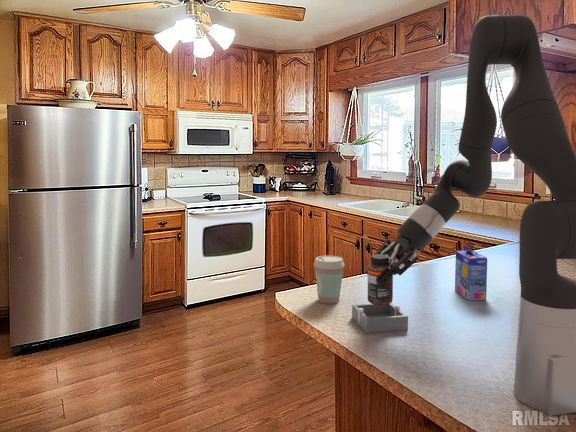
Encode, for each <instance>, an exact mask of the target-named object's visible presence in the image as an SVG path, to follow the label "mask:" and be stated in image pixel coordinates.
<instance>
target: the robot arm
mask: <svg viewBox="0 0 576 432" xmlns="http://www.w3.org/2000/svg"><path fill="white" fill-rule="evenodd" d="M468 51H469V52H468V64H467V65H468V66H467V77H466V92H465V93H466V95H465V110H464V117H463V122H462V127H461V132H460V136H459V142H458V148H457V149H458V153H460V155H461V156H462V157H464V158H465V159H466V160H465V159H463V158H462V159H456V160H454V161H452V162H451V163H450V164H449V165H448V166H447V167H446V168H445V170H444V172H443V174H442V176H441V178H440V180H439V182H438V183H437V185H436V187H435V189H434V191H433V192H432V193H431V195H430V196H428V198H427V199H426V200H425V201H424V202H423V203H422V204H421V205H420V206H418V208H417V209H416V210H414V211H413V212H412V213H411V215H410V216H409V217H408V218H407V219H405V220H404V222H403V223H402V224H401V225H400V226H399V227H398V228H397V230H396V235H397V238H396V239H394V240H393V241H391V240H390V238H387V239H386V240H385V241H384V242H383V244H381V246H380V247H379V248H378V250H377V251H376V252H375V253H374V254H373V255H377V254H382V255H387V256H389V265H388V266H387V269H386V268H385V269H384V271H383V272H382V273H381V274H380V275H379V276H378V277H377V278H376V281H377V282H378V283H379V284H380V285H381V286H383V285H384V284H385V283H386V282H387V281H388V280H389V279H390V278H391V277H392V276H393V277H394V276H396V275H398V276H402V275H403V274H404V273H405V272H406V271H407V270H408V269H410V267H412V265H414V264H415V263H416V262H417V261H418V260H419V258H420V257H419V256H418V255H417V253H415V252H418V253H421V252H422V251H423V250H424V249H425V248H426V247H427V246H428V245H429V244H430V243H431V242H432V241H433V239H435V237H436V236H437V235H438V234H439V233H440V232H441V230H442V229H443V227H444V226H445V225H446V224H447V223H448V222H449V221H450V220H451V219H452V217H453V216H454V215H456V213H457V212H458V210H459V209H460V206H461V204H460V201H459V200H458V198H457V197H456V196H455V195H454V194H453V192H454V190H457V191H458V192H461V193H463V194H465V195H467V196H469V197H472V198H480V197H482V196H483V195H485V193H487V192H488V190H489V188H490V187H491V184H492V179H493V170H492V169H493V167H492V165H493V164H492V147H493V143H494V138H495V134H496V131H497V126H498V125H497V124H498V119H497V113H496V110H495V106H494V104H493V102H492V99H491V97H490V94H489V91H488V88H487V81H486V80H487V79H486V78H487V77H486V75H487V70H488V66H490V65H491V66H492V65H495V66H496V65H510V66H511V67H513V70H514V73H515V78H516V79H515V82H514V84H513V86H512V87H511V89H510V91H509V93H508V94H507V96H506V98H505V100H504V103H503V105H502V108H501V113H500V119H501V125H502V128H503V132H504V135H505V140H506V143H507V145H508V147H509V149H510V151H511V152H512V153H513V154H514V155H515V157H516V158H517V159H518V160H519V161H520V162H521V163H522V164H524V165H525V166H526V167H527V168H528V169H529V170H531V172H533V173H534V174H536V176H537V177H538V178H539V179H540V180H541V181H543V183H544V184H545V186H546V187H547V188H548V189H549V192H550V193H551V196H552V197H553V200H536V201H533V202H530V203H529V204H527V205H526V207H525V208H524V210H523V212H522V214H521V218H520V223H519V224H520V225H519V258H518V259H519V260H518V261H519V263H518V265H519V267H518V273H519V274H518V275H519V281H520V282H519V284H520V297H519V298H520V300H519V313H518V323H517V324H518V327H517V338H516V339H517V340H516V351H515V353H516V355H515V365H514V366H515V369H514V382H513V383H514V385H513V394H514V396H515V398H516V399H517V400H519V401H520V402H521V403H522V404H524V405H526V406H528V407H530V408H531V409H535V410H538V411H540V412H543V413H544V414H546V415H547V416H549V417H550V416H551V417H552V416H560V415H567V414H573V413H576V280H575V279H572V278H569V277H567V276H564V275H561V274H560V273H559V272H558V264H557V263H558V261H557V260H576V152H575V150H574V148H573V146H572V143H571V140H570V137H569V135H568V131H567V127H566V125H565V120H564V119H563V116H562V113H561V110H560V108H559V107H560V106H559V104H558V103H557V99H556V97H555V95H554V92H553V89H552V87H551V84H550V81H549V78H548V75H547V72H546V68H545V64H544V60H543V59H544V58H543V56H542V55H543V54H542V52H541V46H540V41H539V37H538V32H537V29H536V26H535V24H534V22H533V20H532V19H531V18H530V17H529V16H527V15H521V14H507V15H505V14H501V15H497V14H493V15H484V16H481V17H480V18H479V20H477V21H476V23H475V24H474V27H473V29H472V33H471V37H470V42H469V49H468ZM365 274H366V275H367V276H368V268H367V269H366V270H365Z"/></svg>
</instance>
